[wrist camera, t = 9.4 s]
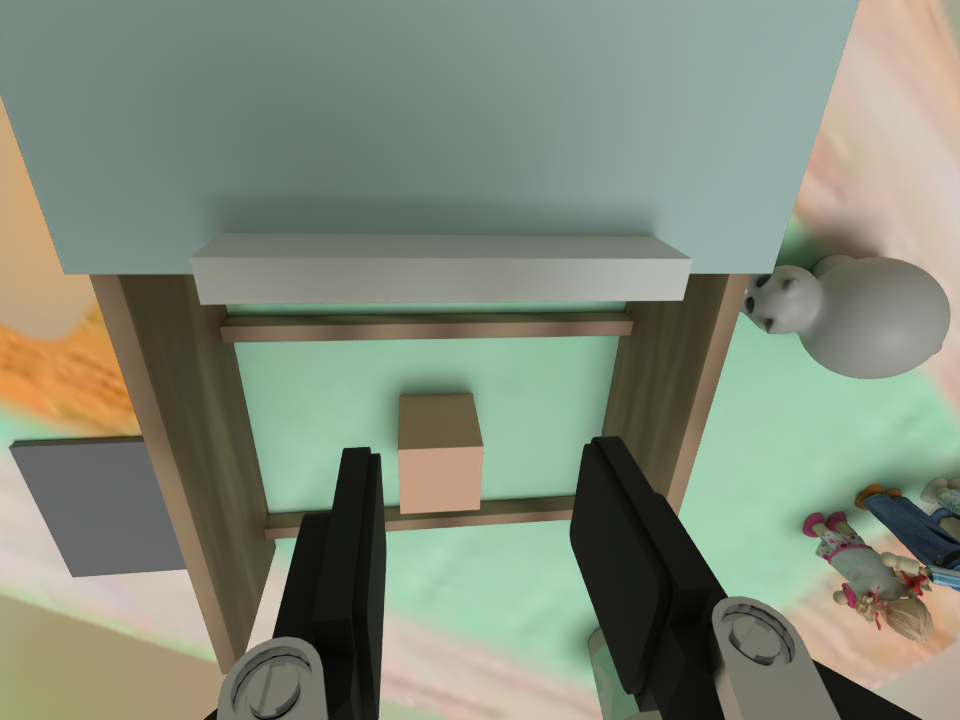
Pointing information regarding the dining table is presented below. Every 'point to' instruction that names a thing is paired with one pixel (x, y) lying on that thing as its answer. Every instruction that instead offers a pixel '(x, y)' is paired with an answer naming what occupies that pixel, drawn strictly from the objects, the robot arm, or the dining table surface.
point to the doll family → (873, 583)
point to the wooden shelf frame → (214, 369)
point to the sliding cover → (419, 141)
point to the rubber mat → (101, 504)
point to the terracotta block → (439, 453)
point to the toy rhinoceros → (854, 313)
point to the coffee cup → (613, 685)
